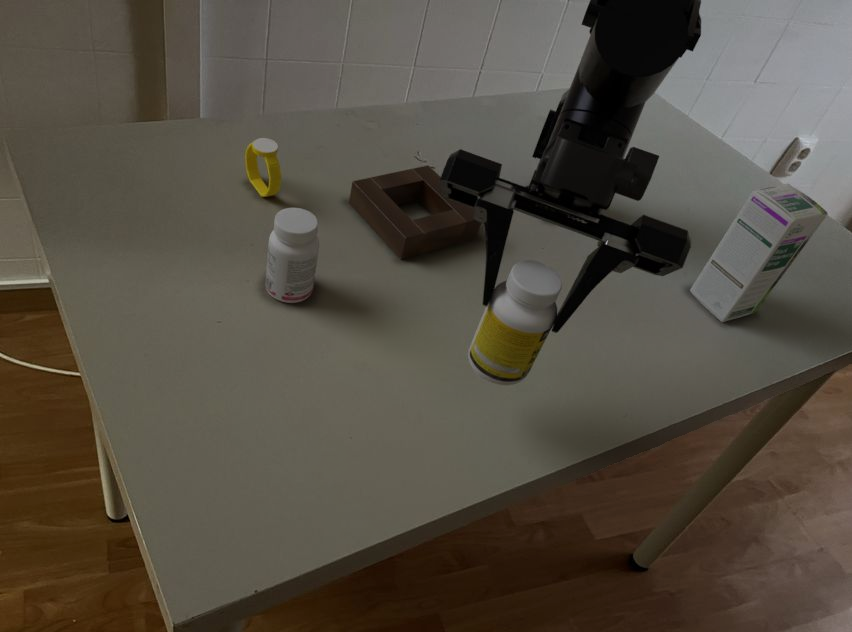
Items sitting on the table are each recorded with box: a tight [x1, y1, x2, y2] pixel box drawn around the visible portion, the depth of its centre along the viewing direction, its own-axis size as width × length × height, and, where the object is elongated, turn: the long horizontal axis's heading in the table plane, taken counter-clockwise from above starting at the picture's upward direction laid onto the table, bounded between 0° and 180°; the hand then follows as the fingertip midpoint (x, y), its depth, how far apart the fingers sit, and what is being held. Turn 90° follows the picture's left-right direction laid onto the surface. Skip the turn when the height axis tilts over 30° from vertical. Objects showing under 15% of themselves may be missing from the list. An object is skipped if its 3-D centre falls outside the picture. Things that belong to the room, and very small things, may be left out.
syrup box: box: [689, 183, 828, 323], centre depth 78 cm, size 6×6×14 cm
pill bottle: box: [265, 207, 320, 304], centre depth 68 cm, size 5×5×8 cm
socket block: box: [348, 165, 482, 261], centre depth 82 cm, size 11×11×3 cm
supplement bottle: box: [467, 260, 563, 386], centre depth 57 cm, size 5×5×10 cm
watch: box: [244, 137, 282, 198], centre depth 80 cm, size 6×3×6 cm, turn 35°
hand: (519, 318), depth 55 cm, fingers closed on supplement bottle, 5 cm apart
